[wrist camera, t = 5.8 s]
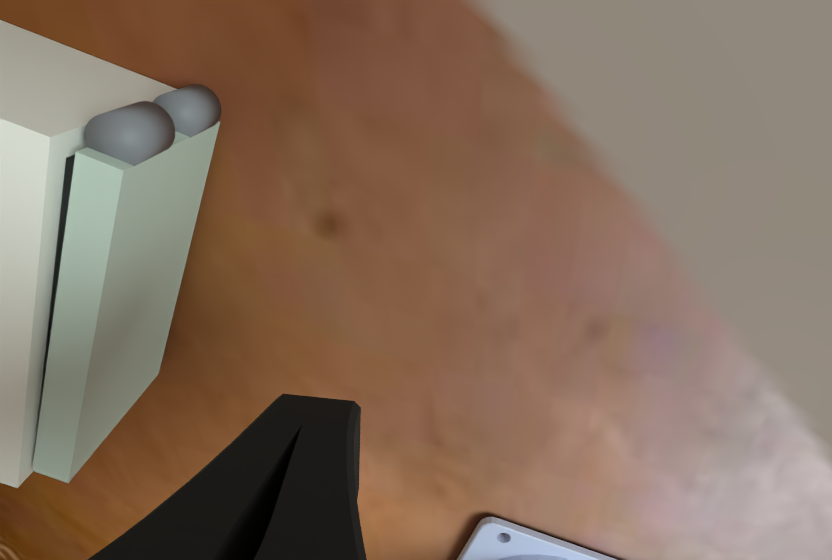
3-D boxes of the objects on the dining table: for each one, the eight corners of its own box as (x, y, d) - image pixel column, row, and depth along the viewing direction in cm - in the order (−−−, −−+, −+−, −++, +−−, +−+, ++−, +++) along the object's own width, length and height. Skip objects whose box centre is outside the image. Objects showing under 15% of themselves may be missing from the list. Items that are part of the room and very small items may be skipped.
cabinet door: (230, 92, 17) (135, 131, 12) (161, 374, 21) (71, 484, 16) (189, 75, 16) (76, 107, 12) (128, 362, 21) (28, 469, 16)
